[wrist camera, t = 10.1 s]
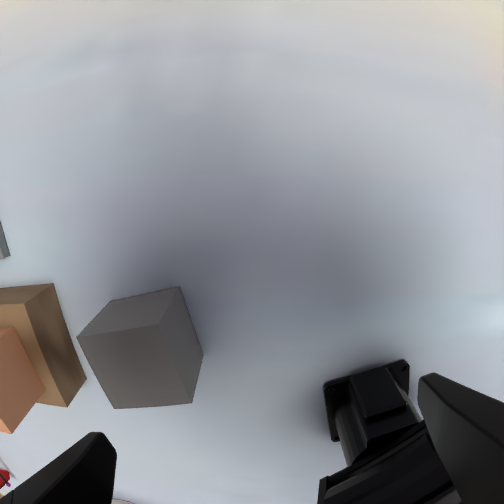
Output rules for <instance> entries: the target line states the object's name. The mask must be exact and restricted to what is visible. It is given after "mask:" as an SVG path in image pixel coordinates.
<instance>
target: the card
mask: <svg viewBox="0 0 504 504" xmlns="http://www.w3.org/2000/svg"><path fill="white" fill-rule="evenodd" d="M7 256H10V254H9V250H8V247H7V244H6V241H5V237H4V234H3V230H2V227H1V223H0V260H1V259H3V258H5V257H7Z"/></svg>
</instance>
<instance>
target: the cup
mask: <svg viewBox="0 0 504 504" xmlns="http://www.w3.org/2000/svg"><path fill="white" fill-rule="evenodd" d="M111 504H133V503H130V502H127V501H122V500H116V499H112V503H111Z"/></svg>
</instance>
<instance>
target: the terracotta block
mask: <svg viewBox="0 0 504 504" xmlns="http://www.w3.org/2000/svg"><path fill="white" fill-rule="evenodd" d="M45 390H46V389H45V387H44V385H43V384H42V382H41V380H40V378H39V376H38V375H37V373H36V371H35V369H34V367H33V365H32V363H31V362H30V360H29V358H28V356H27V354H26V352H25V350H24V348H23V346H22V344H21V342H20V339H19V337H18V335H17V333H16V331H15V329H14V327H8V328H2V329H0V432H4V433H9V434H12V433H13V432H14V431H15V429H16V428H17V426H18V425H19V424H20V422H21V421H22V420H23V419H24V417H25V416H26V415H27V413H28V412H29V411H30V409H31V408H32V407H33V405H34V404H35V403H36V402H37V400H38V399H39V398H40V397H41V395H42V394H43V393H44V391H45Z"/></svg>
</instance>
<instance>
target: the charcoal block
mask: <svg viewBox="0 0 504 504" xmlns="http://www.w3.org/2000/svg"><path fill="white" fill-rule="evenodd" d="M76 338H77V340H78V342H79V344H80V346H81V348H82V350H83V352H84V354H85V356H86V358H87V360H88V362H89V364H90V366H91V368H92V370H93V372H94V374H95V376H96V378H97V380H98V381H99V383H100V385H101V387H102V389H103V390H104V392H105V394H106V396H107V398H108V399H109V401H110V403H111V404H112V406H113V408H114V409H125V408H143V407H157V406H169V405H179V404H189V403H192V401H193V397H194V393H195V388H196V384H197V380H198V375H199V371H200V367H201V363H202V359H203V352H202V350H201V347H200V344H199V342H198V339H197V336H196V333H195V330H194V328H193V325H192V322H191V319H190V316H189V313H188V310H187V307H186V304H185V301H184V298H183V295H182V292H181V289H180V286H178V287H174V288H169V289H165V290H160V291H155V292H151V293H146V294H141V295H137V296H132V297H127V298H123V299H118V300H113V301H110V302H109V303H108V304H107V305H106V306H105V307H104V308H103V309H102V310H101V311H100V312H99V313H98V314H97V315H96V317H95V318H94V319H93V320H92V321H91V322H90V323H89V324H88V325H87V326H86V327H85V328H84V329H83V331H82V332H81V333H80V334H79V335H78V336H77V337H76Z"/></svg>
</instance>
